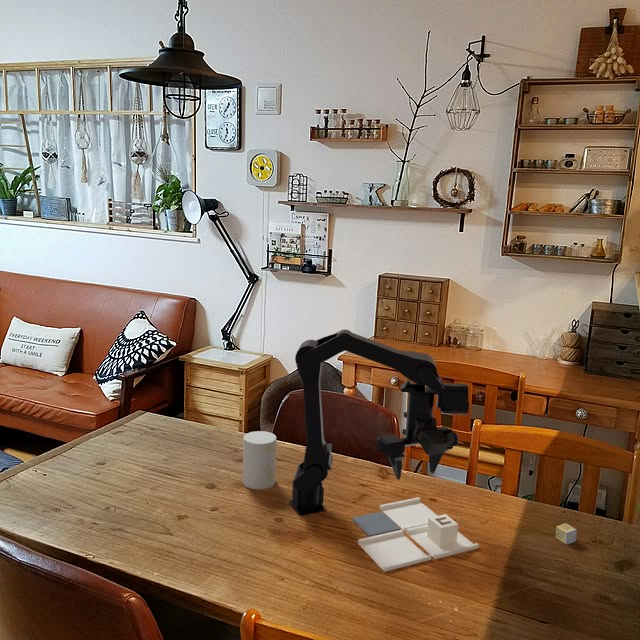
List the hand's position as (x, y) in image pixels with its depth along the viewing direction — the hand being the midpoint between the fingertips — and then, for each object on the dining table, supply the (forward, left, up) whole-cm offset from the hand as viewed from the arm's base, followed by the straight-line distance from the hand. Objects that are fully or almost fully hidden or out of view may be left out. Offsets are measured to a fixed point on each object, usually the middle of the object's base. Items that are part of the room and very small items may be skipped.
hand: (415, 475), depth 146 cm
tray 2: (-12, -11, -10) cm, 19 cm away
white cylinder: (-27, +29, -10) cm, 41 cm away
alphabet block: (+26, -21, -10) cm, 35 cm away
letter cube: (0, -11, -10) cm, 15 cm away
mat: (-10, 0, -10) cm, 14 cm away
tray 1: (0, 0, -10) cm, 10 cm away
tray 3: (0, -11, -10) cm, 15 cm away
